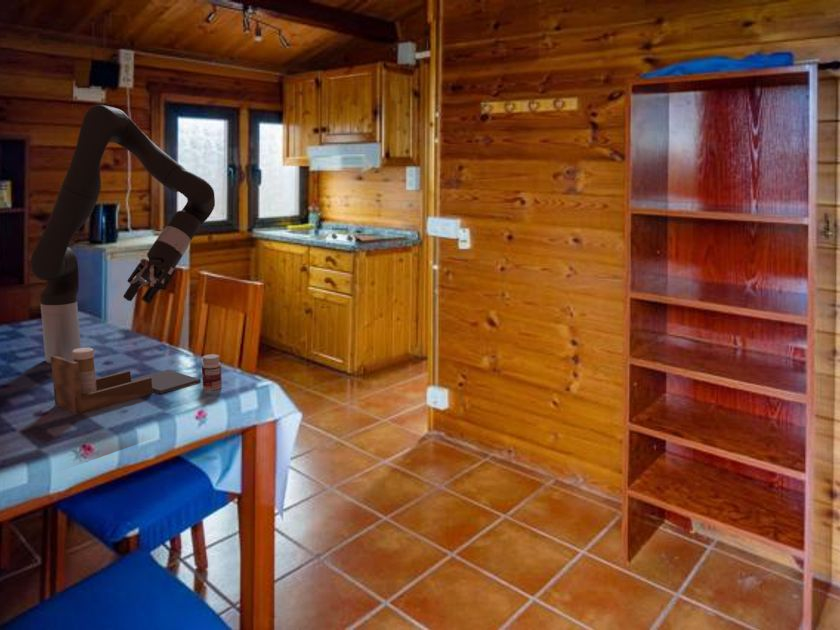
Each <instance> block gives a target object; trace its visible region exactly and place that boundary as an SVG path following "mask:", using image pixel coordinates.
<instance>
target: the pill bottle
mask: <svg viewBox="0 0 840 630" xmlns="http://www.w3.org/2000/svg"><path fill="white" fill-rule="evenodd" d="M201 376H202V388H203V390H206V391H215V389H216V390H220V388H222V386H223V381H222V380H223V379H222V363H220V355H218V354H214V353H211V354H205V355H203V356H202V364H201Z"/></svg>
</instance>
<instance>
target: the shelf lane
mask: <svg viewBox="0 0 840 630" xmlns="http://www.w3.org/2000/svg"><path fill="white" fill-rule="evenodd" d="M50 365H51V375H52V384H53V395H54V405H55V406H56V405H57V406H56V407H58V406H60V407H59V408H61V407H62V408H61V409H64V408H65V409H64V410H66V409H67V410H66V411H69V410H70V411H69V412H71V411H72V412H71V413H73V414H76V413H77V415H81V413H82V414H85V413H88V412H87V411H89V412H92V411H95V410H94V409H96V410H98V408H99V409H102V408H101V407H103V408H106V407H109V405H110V406H113V405H116V404H120V403H122V402H123V403H124V402H127V401H130V400H133V399H136V398H141V397H143V396H148V395H151V394H153V391H152V378H150V377H148V378H144V379H140V380H136V381H133V382H131V379H132V375H131V371H130V370H126V371H122V372H117V373H114V374H113V373H112V374H108V375H105V376H102V377H96V388H97V390H96V391H95V392H91V393H87V394H83V395H81V387H80V375H79V364H78V362H74V361H71V360H68V359H65V358H62V357H59V356H55V355H54V356H51V364H50ZM105 406H106V407H105ZM91 410H92V411H91ZM84 412H85V413H84Z"/></svg>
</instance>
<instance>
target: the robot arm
mask: <svg viewBox="0 0 840 630" xmlns="http://www.w3.org/2000/svg"><path fill="white" fill-rule="evenodd" d="M76 143H77V144H76V146H75V149H74V152H73V155H72V158H71V161H70V164H69V166H68V168H67V169H68V170H67V172H66V174H65V177H64V178H63V181H62V184H61V186H60V189H59V192H58V194H57V197H56V201H55V204H54V206H53V208H52V210H51V211H52V212H51V213H50V216H49V219H48V221H47V223H46V226H45V229H44V231H43V233H42V235H41V237H40V238H39V241H38V242H37V244H36V246H35V248H34V250H33V252H32V254H31V256H30V264H29V265H30V270H31V273H32V274H33V275H34V276H35V277H36V278H37V279H39V280H41V281H46V284H45V285H46V286H45V287H44V289H43V290H42V291H41V292H40V294H39V302H40V315H41V323H42V337H43V347H44V358H45V363H47V364H49V365H51V356H54V355H55V356H59V357H62V358H65V359H68V360H71V361H74V360H73V357H72V351H73V350H75V349H78V348H82V344H81V343H82V342H81V332H80V321H79V320H80V319H79V309H78V299H77V298H78V297H77V296H78V294H79V293H78V292H79V287H80V281H79V280H80V279H79V277H80V276H79V263H78V258H77V256H76V254H75V251H73V249H72V248H71V247H69V245H70V242H71V241H72V239H73V237H74V236H75V235H76V233H78V231H79V230H80V229H81V228H82V226H83V225H84V224H85V223H86V221H87V220H88V219H89V218H90V216H91V215H92V213H93V211H94V209H95V207H96V204H97V201H98V199H99V197H100V194H101V189H102V188H101V187H102V180H101V162H102V158H103V156H104V153H105V151H106V148H107V146H108V144H109V143H115V144H117V145H119V146H121V147H122V148H124V149H126V150H127V151H129V152H130V153H131V154H132V155H134V156H135V157H136V158H137V159H138V160H139V162H140V163H141V164H142V166H143V167H144V169H145V170H146V171H147V173H149V174H150V176H152V177H153V178H154V179H155V180H157V181H158V182H159V183H160V184H161V185H163V186H164V187H165V188H167V190H170V191H171V192H174V193H177V192H179V193H180V194H181V195H183V196H184V197H185V198H186V199H187V202H186V203H185V205H184V206H183V207H182V209H181V210H178V211H176V212H175V213H174V214H173V215H172V217H171V218H170V220H169V221H168V223H167V225H166V226H165V227H164V228H163V230H162V231H161V232H160V234H159V235H158V236H157V238H156V240H155V241H154V242H153V244H152V246H151V247H150V248H149V250H148V252H147V253H146V256H147V258H148V262H147V263H146V264H143V263H142V262H139V263H138V264H137V266H136V267H135V269H134V270H133V272H132V273H131V274H130V276H129V277H128V279H127V283H128V284H129V285H128V288H127V290H126V291H125V292H124V295H123V298H124V299H125V300H126V301H128V302H132V301H133V299H134V298H135V296H136V294H137V293H138V291H139V290H140V289H141V288H142V287H143V286H147V285H148V284H149V283H150V284H149V286H148V288H147V289H146V291H145V292H144V294H143V296H142V297H141V300H142V301H143V302H145V303H146V304H151V303H152V301H153V300H154V298H155V296H156V295H157V293H159V292H160V291H161V290H163V291H164V290H166V289H167V288H168V286H169V284H170V282H171V281H172V279H173V277H174V275H175V274H176V272H177V270H176V267H177V265H178V264H179V262H180V261H181V259H182V257H183V256H184V255H185V253H186V251H187V250H188V248H189V245H190V243H191V241H192V240H193V238H194V236H195V234H196V233H197V232H198V230H199V228H200V227H201V226H202V225H203V224H204V223H205V222H206V220H208V219H209V217H210V216H211V214H212V213H213V211H214V209H215V206H216V202H215V201H216V200H215V198H216V197H215V190H214V188H213V186H212V185H211V184H210V183H209V181H206V180H205V179H204V178H202V177H201V176H199V175H196V174H195V173H193V172H191V171H188V169H186V168H185V167H183V166H182V165H181V164H180V163H179V162H177V161H176V160H175V159H173V157H171V156H170V155H169V154H167V153H166V152H165V151H164V150H162V149H161V148H160V147H159V146H157V145H156V143H154V142H153V141H152V140H151V139H150V138H149V137H148V136H147V135H146V134H145V133H144V132H143V131H142V130H141V129H140V127H139V126H137V124H136V123H135V122H134V120H132V118H130V116H128V115H127V113H125V112H124V111H123V110H121V109H120V108H117V107H113V106H109V105H105V104H95V105H93V106H91V107H89V108H88V110H86V113H85V114H84V116H83V119H82V122H81V126H80V130H79V134H78V139H77V142H76Z"/></svg>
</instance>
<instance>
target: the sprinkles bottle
mask: <svg viewBox="0 0 840 630" xmlns="http://www.w3.org/2000/svg"><path fill="white" fill-rule="evenodd" d="M72 357H73V360H74V362H78V364H79V375H80V387H81V395H83V394H87V393H91V392H95V391H96V390H97V388H96V378H97V377H96V369H95V350H94V348H92V347H81V348H78V349H75V350H73V351H72Z"/></svg>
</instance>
